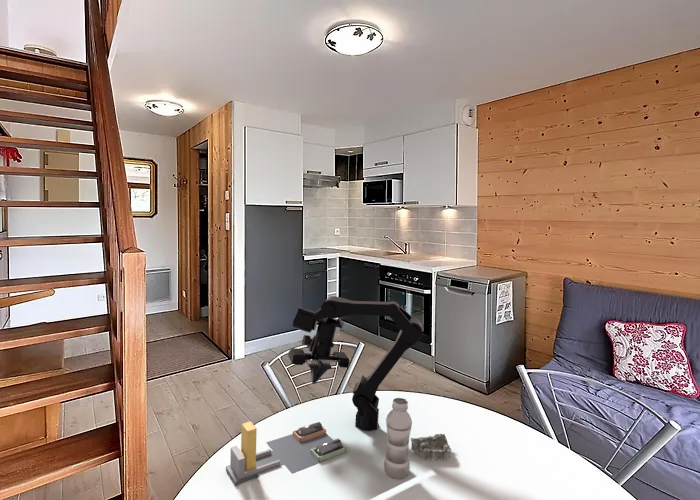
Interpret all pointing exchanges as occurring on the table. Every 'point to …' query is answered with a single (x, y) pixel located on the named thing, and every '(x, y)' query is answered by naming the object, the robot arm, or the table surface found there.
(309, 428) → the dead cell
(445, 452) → the egg carton
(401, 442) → the plastic bottle
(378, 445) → the table surface
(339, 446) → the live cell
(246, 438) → the tall mustard pillar
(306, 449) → the checker
